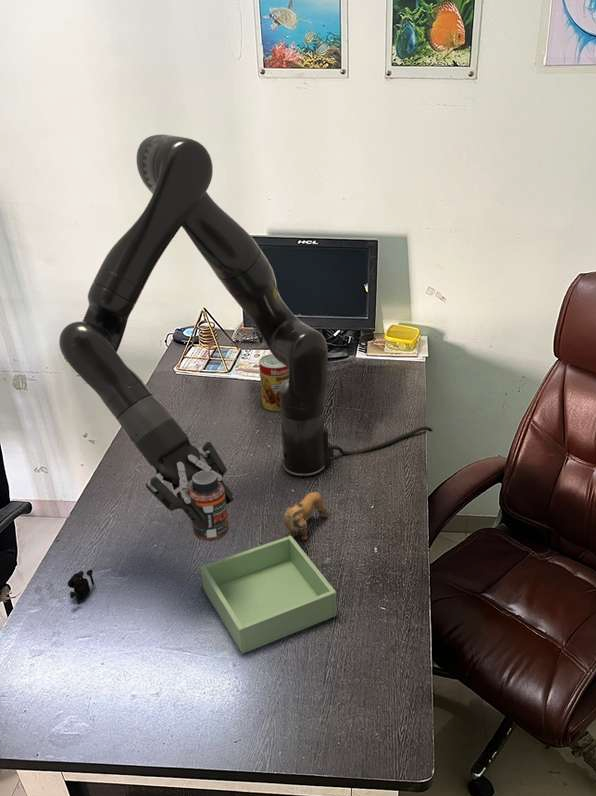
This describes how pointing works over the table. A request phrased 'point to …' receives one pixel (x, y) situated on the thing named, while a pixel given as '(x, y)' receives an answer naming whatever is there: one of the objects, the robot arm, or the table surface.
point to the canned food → (272, 381)
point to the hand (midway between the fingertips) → (216, 512)
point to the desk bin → (268, 593)
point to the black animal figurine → (80, 585)
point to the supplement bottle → (209, 506)
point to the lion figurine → (303, 513)
